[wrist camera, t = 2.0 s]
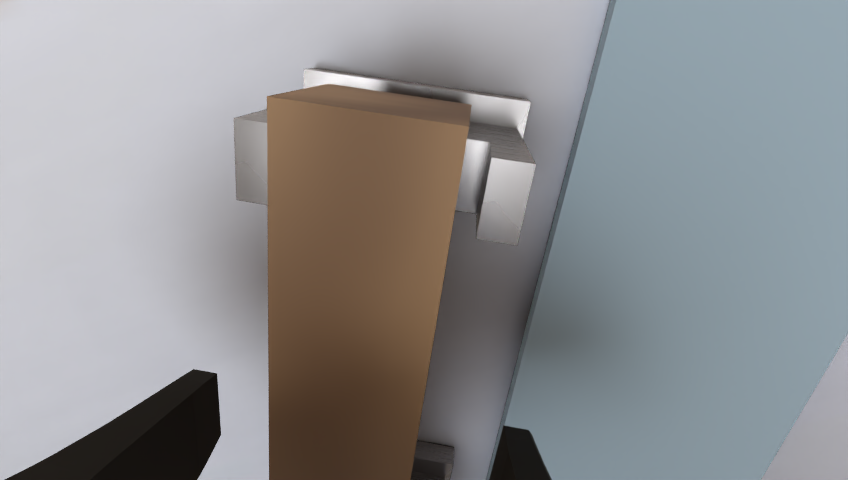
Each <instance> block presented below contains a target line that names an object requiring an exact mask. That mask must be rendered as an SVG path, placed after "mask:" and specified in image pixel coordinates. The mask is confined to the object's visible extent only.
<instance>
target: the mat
mask: <svg viewBox="0 0 848 480" xmlns="http://www.w3.org/2000/svg"><path fill="white" fill-rule="evenodd" d="M847 334H848V0H610V3H609V7H608V11H607V15H606V19H605V23H604V27H603V30H602V34H601V38H600V42H599V46H598V50H597V54H596V58H595V61H594V65H593V69H592V73H591V77H590V81H589V85H588V88H587V92H586V96H585V100H584V104H583V108H582V112H581V115H580V119H579V123H578V127H577V131H576V135H575V139H574V143H573V146H572V150H571V154H570V158H569V162H568V166H567V170H566V173H565V177H564V181H563V185H562V189H561V193H560V197H559V200H558V204H557V208H556V212H555V216H554V220H553V224H552V228H551V231H550V235H549V239H548V243H547V247H546V251H545V255H544V258H543V262H542V266H541V270H540V274H539V278H538V282H537V285H536V289H535V293H534V297H533V301H532V305H531V309H530V313H529V316H528V320H527V324H526V328H525V332H524V336H523V340H522V343H521V347H520V351H519V355H518V359H517V363H516V367H515V371H514V374H513V378H512V382H511V386H510V390H509V394H508V398H507V401H506V405H505V409H504V413H503V417H502V421H501V425H500V428H499V432H498V436H497V440H496V444H495V448H494V452H493V456H492V459H491V463H490V467H489V471H488V475H487V479H486V480H489V478H490V475H491V471H492V467H493V463H494V459H495V456H496V452H497V448H498V444H499V440H500V437H501V433H502V429H503V425H504V426H510V427H515V428H521V429H526V430H529V431H530V432H531V434H532V436H533V438H534V441H535V443H536V445H537V448H538V450H539V453H540V455H541V457H542V459H543V462H544V464H545V466H546V468H547V470H548V473H549V475H550V477H551V479H552V480H761V479H762V477H763V475H764V474H765V472H766V470H767V469H768V467H769V465H770V464H771V462H772V460H773V459H774V457H775V455H776V454H777V452H778V450H779V449H780V447H781V445H782V443H783V442H784V440H785V438H786V437H787V435H788V433H789V432H790V430H791V428H792V427H793V425H794V423H795V422H796V420H797V418H798V417H799V415H800V413H801V411H802V410H803V408H804V406H805V405H806V403H807V401H808V400H809V398H810V396H811V395H812V393H813V391H814V390H815V388H816V386H817V385H818V383H819V381H820V379H821V378H822V376H823V374H824V373H825V371H826V369H827V368H828V366H829V364H830V363H831V361H832V359H833V358H834V356H835V354H836V353H837V351H838V349H839V347H840V346H841V344H842V342H843V341H844V339H845V337H846V336H847Z"/></svg>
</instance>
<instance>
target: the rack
mask: <svg viewBox="0 0 848 480" xmlns="http://www.w3.org/2000/svg"><path fill="white" fill-rule="evenodd" d="M324 84H335V85H342V86H348V87H355V88H362V89H369V90H375V91H382V92H389V93H396V94H403V95H409V96H416V97H423V98H430V99H437V100H443V101H450V102H457V103H464V104H470V105H472V106H471V114H470V123H469V130H468V136H467V142H466V148H465V154H464V160H463V166H462V172H461V178H460V184H459V190H458V196H457V202H456V208H455V210H457V211H463V212H469V213H475V214H476V239H480V240H486V241H492V242H498V243H504V244H511V245H518V240H519V236H520V232H521V227H522V223H523V219H524V214H525V210H526V206H527V201H528V197H529V193H530V188H531V184H532V180H533V175H534V171H535V167H536V163H535V161H534V160H533V158H532V156H531V154H530V152H529V150H528V148H527V146H526V144H525V142H524V140H523V136H524V131H525V127H526V122H527V117H528V113H529V108H530V103H531V102H530V101H529V100H528V99H523V98H516V97H509V96H502V95H495V94H488V93H482V92H475V91H468V90H461V89H454V88H447V87H440V86H434V85H427V84H420V83H413V82H406V81H399V80H392V79H386V78H379V77H372V76H365V75H358V74H351V73H345V72H338V71H331V70H324V69H317V68H309V69H304V89H305V88H310V87H315V86H319V85H324ZM234 141H235V170H236V200H240V201H246V202H252V203H258V204H264V205H268V184H267V109H266V110H262V111H259V112H255V113H251V114H247V115H244V116H240V117H236V118H234ZM453 456H454V447H448V446H443V445H438V444H432V443H427V442H422V441H417V443H416V449H415V455H414V461H413V467H412V473H411V479H410V480H450V476H451V472H452V467H453Z"/></svg>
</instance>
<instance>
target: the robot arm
mask: <svg viewBox="0 0 848 480" xmlns="http://www.w3.org/2000/svg"><path fill="white" fill-rule="evenodd" d="M220 435H221V428H220V413H219V397H218V382H217V373H211V372H206V371H200V370H194V369H193V370H192V371H190V372H188V373H187V374H185V375H184V376H182V377H180V378H179V379H177V380H176V381H174V382H172V383H171V384H169V385H168V386H166V387H165V388H163V389H162V390H160V391H158V392H157V393H155V394H154V395H152V396H151V397H149V398H147V399H146V400H144V401H143V402H141V403H140V404H138V405H136V406H135V407H133V408H132V409H130V410H128V411H127V412H125V413H123V414H122V415H120V416H119V417H117V418H115V419H114V420H112V421H111V422H109V423H107V424H106V425H104V426H102V427H101V428H99V429H97V430H95V431H94V432H92V433H90V434H88V435H87V436H85V437H83V438H81V439H80V440H78V441H76V442H75V443H73V444H71V445H69V446H68V447H66V448H64V449H62V450H61V451H59V452H57V453H55V454H54V455H52V456H50V457H48V458H46V459H44V460H43V461H41V462H39V463H37V464H35V465H33V466H31V467H29V468H27V469H25V470H23V471H21V472H19V473H17V474H15V475H13V476H11V477H9V478H7V479H5V480H197V479H198V477H199V476H200V474H201V472H202V470H203V468H204V467H205V465H206V463H207V461H208V459H209V457H210V455H211V453H212V451H213V449H214V447H215V445H216V443H217V441H218V439H219V437H220ZM489 480H552V479H551V477H550V475H549V473H548V470H547V468H546V466H545V464H544V462H543V459H542V457H541V455H540V453H539V450H538V448H537V445H536V443H535V441H534V438H533V436H532V434H531V432H530V431H529V430H526V429H521V428H515V427H510V426H504V425H503V429H502V433H501V437H500V440H499V444H498V448H497V452H496V456H495V459H494V463H493V467H492V471H491V475H490V478H489Z"/></svg>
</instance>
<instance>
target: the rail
mask: <svg viewBox="0 0 848 480" xmlns="http://www.w3.org/2000/svg"><path fill="white" fill-rule="evenodd" d="M471 106H472V105H470V104H464V103H457V102H450V101H443V100H437V99H430V98H423V97H416V96H409V95H403V94H396V93H389V92H382V91H375V90H369V89H362V88H355V87H348V86H342V85H335V84H324V85H319V86H315V87H310V88H305V89H300V90H295V91H290V92H286V93H281V94H276V95H271V96H267V184H268V354H269V480H410V479H411V473H412V467H413V461H414V455H415V449H416V443H417V437H418V431H419V425H420V419H421V413H422V407H423V401H424V395H425V388H426V382H427V376H428V370H429V364H430V358H431V352H432V346H433V340H434V334H435V328H436V322H437V316H438V310H439V304H440V298H441V292H442V286H443V280H444V274H445V268H446V262H447V256H448V250H449V244H450V238H451V232H452V226H453V220H454V214H455V208H456V202H457V196H458V190H459V184H460V178H461V172H462V166H463V160H464V154H465V148H466V142H467V136H468V130H469V123H470V114H471Z"/></svg>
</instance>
